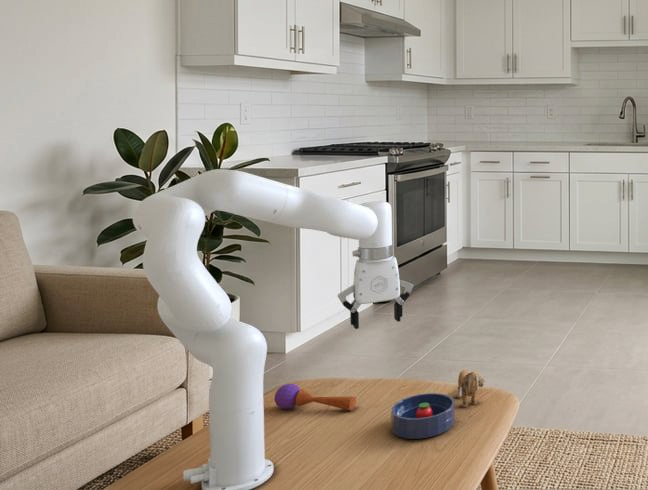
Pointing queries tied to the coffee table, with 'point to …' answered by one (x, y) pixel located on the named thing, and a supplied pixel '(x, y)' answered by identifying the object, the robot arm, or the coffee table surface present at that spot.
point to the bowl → (423, 427)
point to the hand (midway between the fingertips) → (377, 323)
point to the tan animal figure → (469, 385)
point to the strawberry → (424, 411)
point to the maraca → (308, 398)
